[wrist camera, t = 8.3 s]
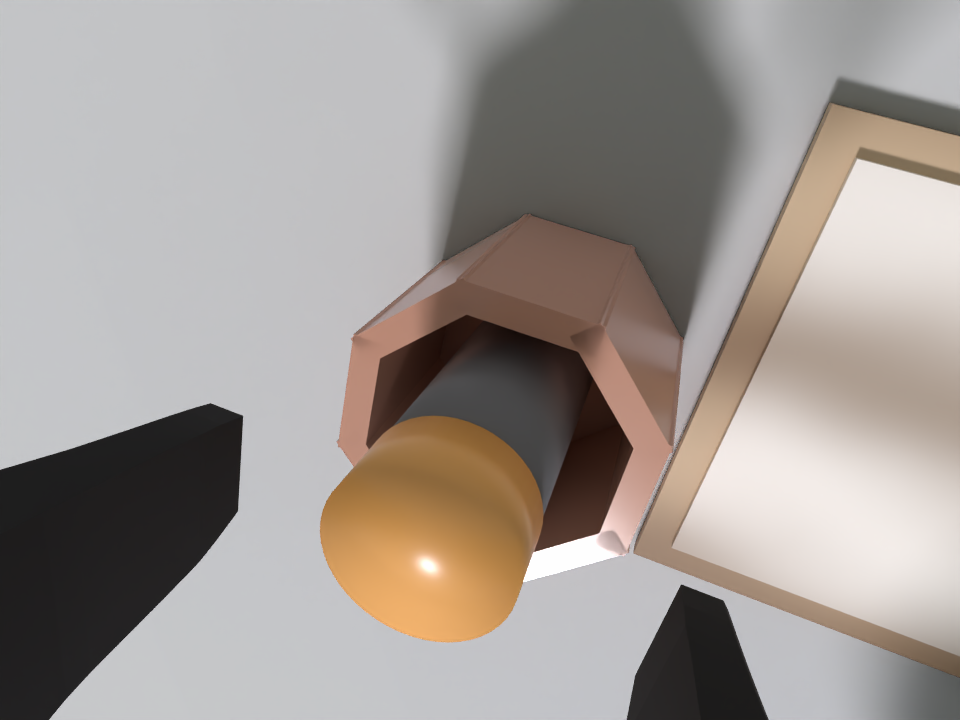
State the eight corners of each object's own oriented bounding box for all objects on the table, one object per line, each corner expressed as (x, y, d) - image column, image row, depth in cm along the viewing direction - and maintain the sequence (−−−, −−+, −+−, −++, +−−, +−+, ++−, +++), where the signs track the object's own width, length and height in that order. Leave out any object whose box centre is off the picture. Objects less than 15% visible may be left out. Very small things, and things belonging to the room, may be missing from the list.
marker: (581, 421, 17) (493, 671, 10) (467, 382, 18) (311, 594, 11) (618, 312, 16) (544, 515, 9) (493, 273, 16) (331, 436, 9)
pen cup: (625, 482, 18) (599, 619, 14) (412, 404, 19) (327, 510, 15) (713, 269, 15) (713, 360, 11) (455, 190, 16) (363, 245, 12)
